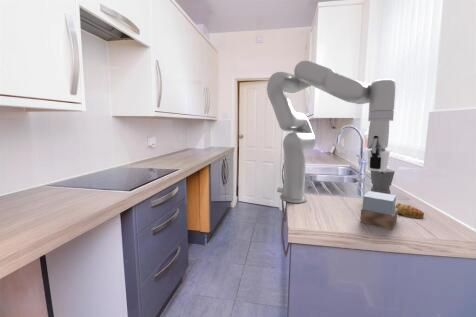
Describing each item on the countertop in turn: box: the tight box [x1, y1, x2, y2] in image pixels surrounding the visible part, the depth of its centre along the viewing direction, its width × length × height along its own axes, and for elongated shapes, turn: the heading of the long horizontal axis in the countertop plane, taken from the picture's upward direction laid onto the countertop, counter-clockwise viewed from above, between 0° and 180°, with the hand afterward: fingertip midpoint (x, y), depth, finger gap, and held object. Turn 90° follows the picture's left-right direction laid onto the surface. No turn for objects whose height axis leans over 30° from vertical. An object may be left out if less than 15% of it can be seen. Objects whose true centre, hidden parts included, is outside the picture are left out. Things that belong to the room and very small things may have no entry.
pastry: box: [395, 202, 425, 219], centre depth 94 cm, size 9×7×4 cm
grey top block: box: [361, 190, 397, 215], centre depth 86 cm, size 9×9×5 cm
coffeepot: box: [370, 168, 396, 194], centre depth 109 cm, size 15×9×18 cm, turn 148°
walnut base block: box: [359, 208, 398, 231], centre depth 87 cm, size 10×10×5 cm
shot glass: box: [367, 149, 390, 171], centre depth 85 cm, size 7×7×7 cm
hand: (377, 166), depth 85 cm, fingers closed on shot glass, 6 cm apart
